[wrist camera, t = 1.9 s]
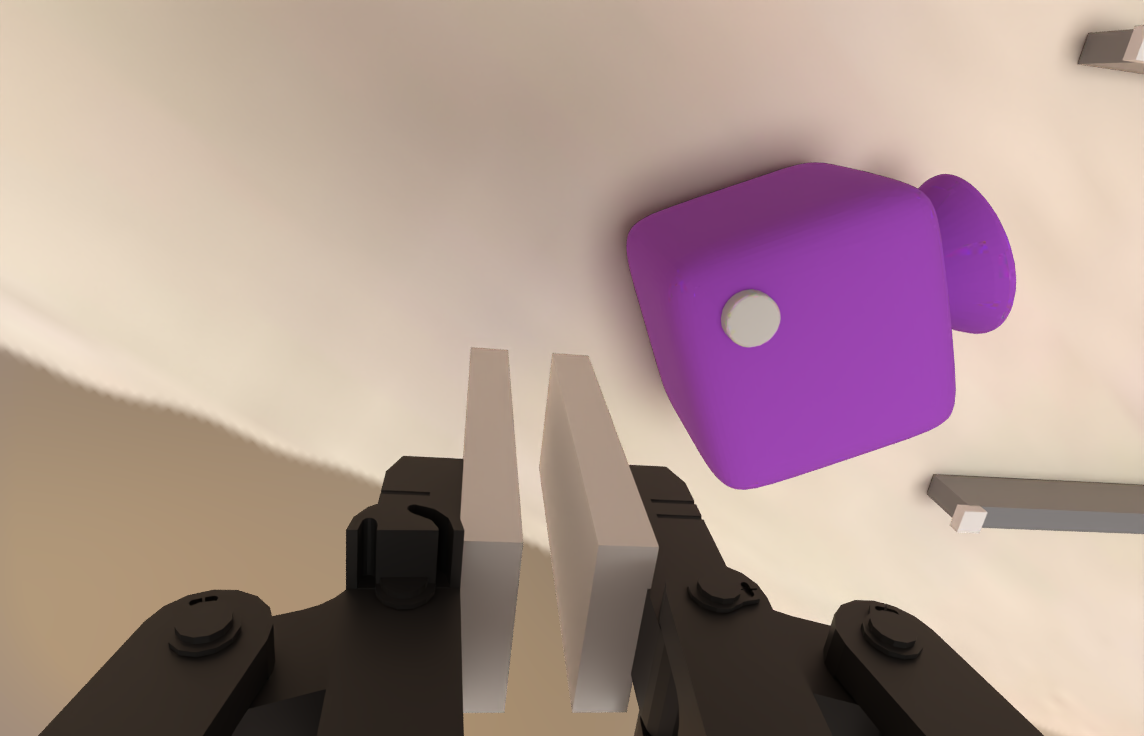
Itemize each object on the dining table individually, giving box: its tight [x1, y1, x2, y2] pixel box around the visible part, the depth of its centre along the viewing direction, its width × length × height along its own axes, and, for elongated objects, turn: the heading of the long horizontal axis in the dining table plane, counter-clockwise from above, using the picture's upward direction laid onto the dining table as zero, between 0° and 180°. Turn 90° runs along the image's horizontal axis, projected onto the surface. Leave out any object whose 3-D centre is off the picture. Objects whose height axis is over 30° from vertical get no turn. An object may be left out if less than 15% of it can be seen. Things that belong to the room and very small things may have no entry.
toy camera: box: [626, 162, 1016, 490], centre depth 27 cm, size 11×14×10 cm
